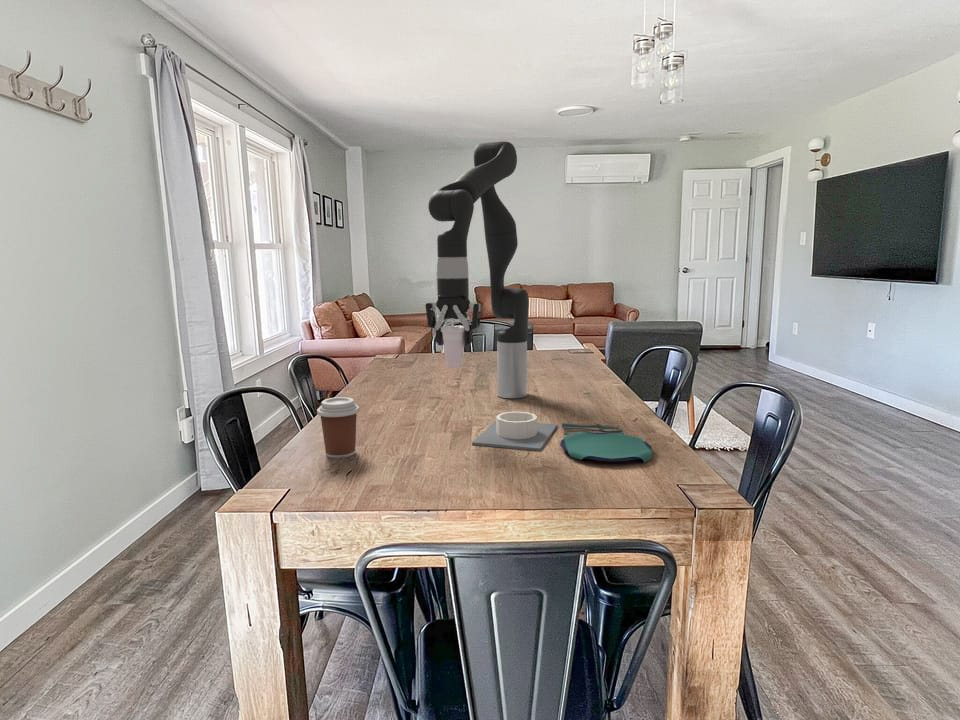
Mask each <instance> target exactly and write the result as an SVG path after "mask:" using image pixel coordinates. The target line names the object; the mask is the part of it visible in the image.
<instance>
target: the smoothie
mask: <svg viewBox="0 0 960 720" xmlns="http://www.w3.org/2000/svg"><path fill="white" fill-rule="evenodd" d="M454 321H455V319H453V318H451V319H450V323H451V325H444V326H443V327H441V332H442V335H443V342H444V345H443V347H444V353H445V354H444V356H445V361H446V367H447V368H452V369H453V368H454V369H457V368H462V367H463V361H464V360H463V359H464V351H465V339H464V331H466V330H465V328H464V326H463V325H455V324H454Z"/></svg>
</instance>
